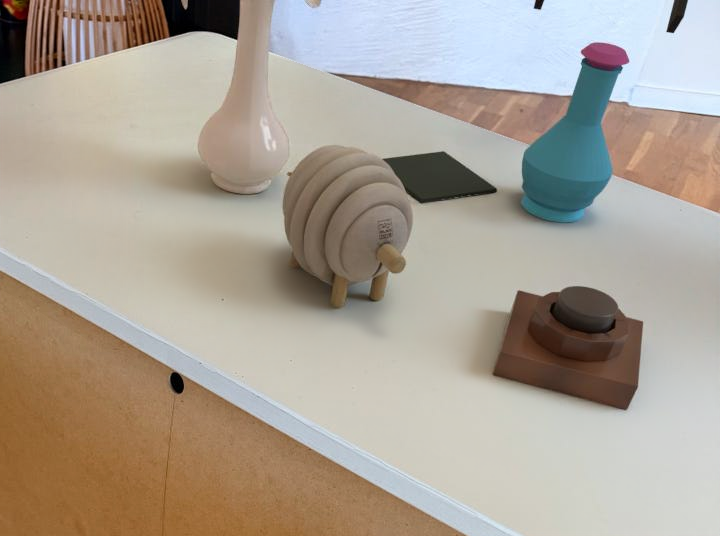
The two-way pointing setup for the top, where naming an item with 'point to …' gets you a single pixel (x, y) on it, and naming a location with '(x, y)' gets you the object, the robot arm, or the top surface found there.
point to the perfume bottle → (574, 144)
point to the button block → (570, 353)
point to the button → (585, 310)
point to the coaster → (437, 177)
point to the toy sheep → (347, 219)
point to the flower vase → (247, 112)
